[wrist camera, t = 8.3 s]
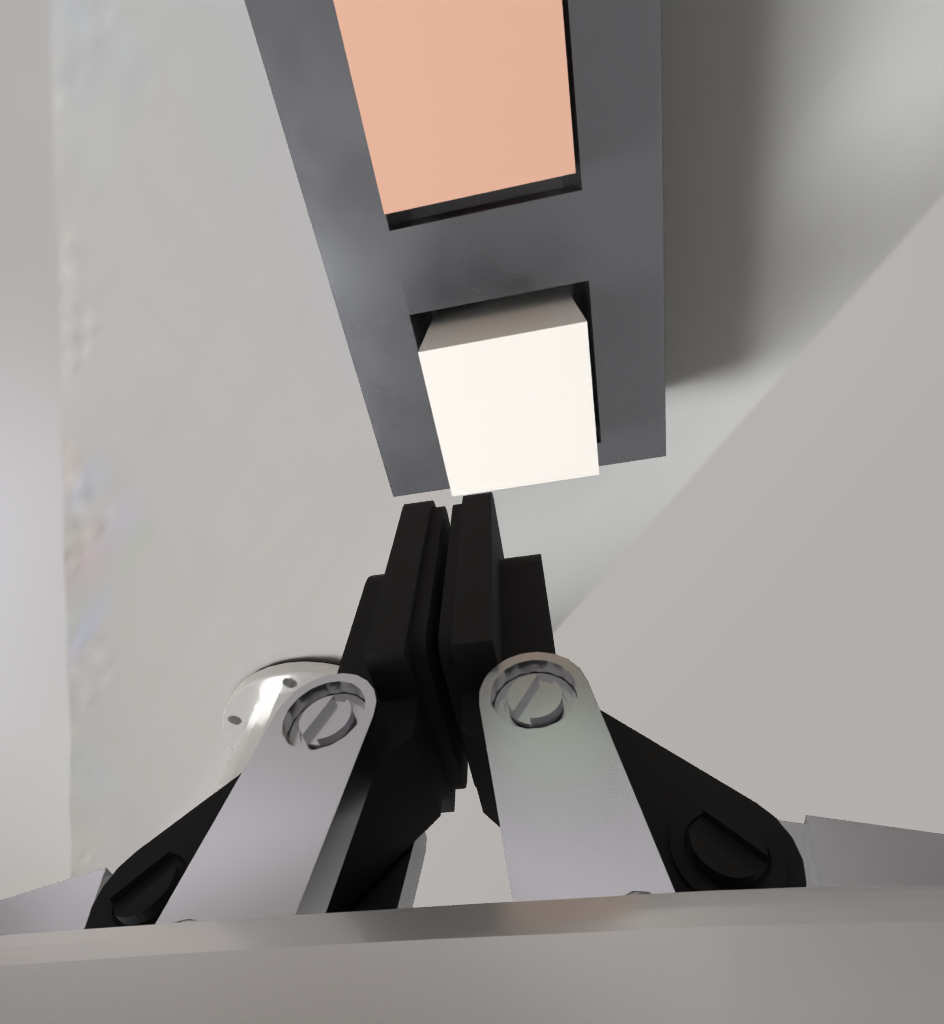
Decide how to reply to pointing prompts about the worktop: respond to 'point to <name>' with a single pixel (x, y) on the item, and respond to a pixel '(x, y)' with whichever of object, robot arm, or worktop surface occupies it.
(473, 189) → the peach key
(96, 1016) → the robot arm
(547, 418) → the ivory key
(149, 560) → the worktop surface
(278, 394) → the worktop surface
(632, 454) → the grey socket block
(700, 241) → the worktop surface
